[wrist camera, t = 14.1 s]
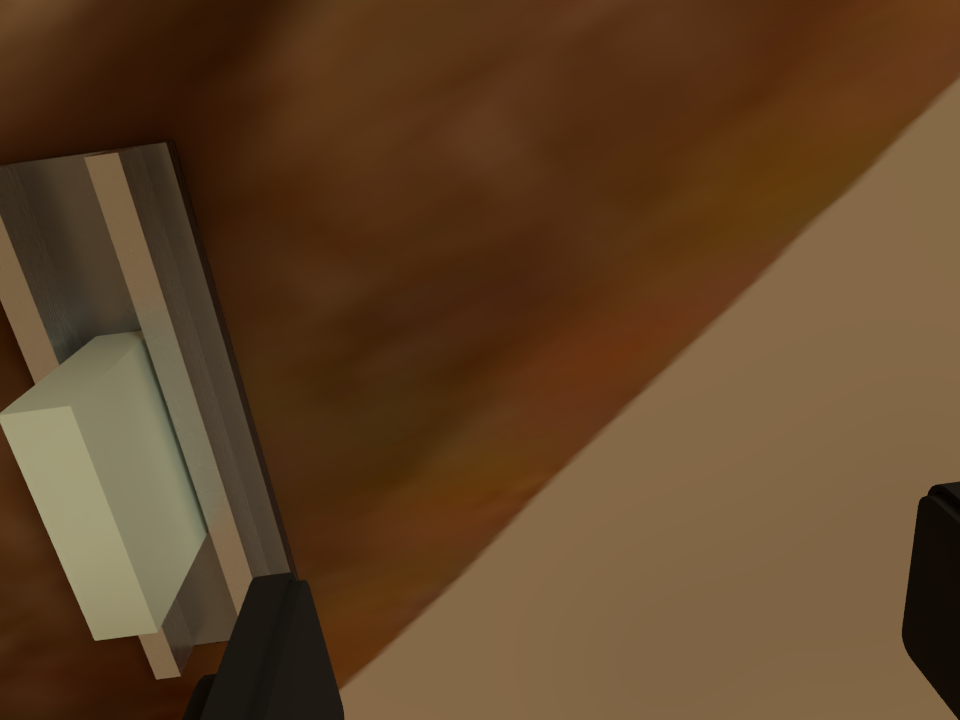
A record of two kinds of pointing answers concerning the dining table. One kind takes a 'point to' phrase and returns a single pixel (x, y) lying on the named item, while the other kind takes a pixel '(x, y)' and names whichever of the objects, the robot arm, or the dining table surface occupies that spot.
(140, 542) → the door panel
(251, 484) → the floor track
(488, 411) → the dining table surface
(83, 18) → the dining table surface
